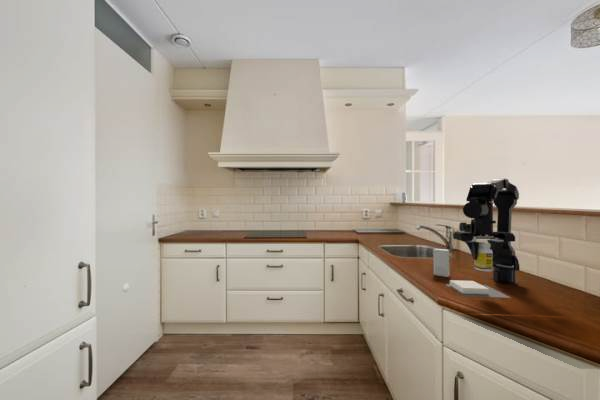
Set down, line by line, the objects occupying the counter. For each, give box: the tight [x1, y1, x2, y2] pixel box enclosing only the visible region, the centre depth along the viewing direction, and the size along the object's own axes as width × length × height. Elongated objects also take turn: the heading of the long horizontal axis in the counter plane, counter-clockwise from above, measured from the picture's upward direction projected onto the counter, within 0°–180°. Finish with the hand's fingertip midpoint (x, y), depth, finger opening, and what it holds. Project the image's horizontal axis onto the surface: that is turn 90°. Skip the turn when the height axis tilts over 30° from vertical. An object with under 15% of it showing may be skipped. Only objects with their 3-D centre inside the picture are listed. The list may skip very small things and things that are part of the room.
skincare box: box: [432, 248, 450, 278], centre depth 115 cm, size 6×4×12 cm
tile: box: [449, 279, 489, 295], centre depth 95 cm, size 2×9×9 cm
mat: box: [445, 283, 511, 299], centre depth 95 cm, size 16×13×1 cm
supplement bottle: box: [473, 241, 494, 272], centre depth 91 cm, size 5×5×10 cm
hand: (483, 259), depth 91 cm, fingers closed on supplement bottle, 5 cm apart
